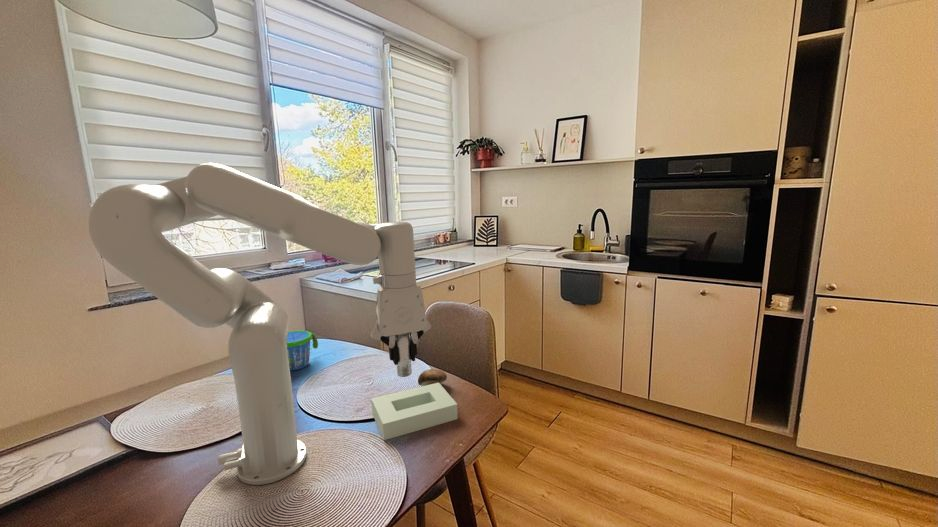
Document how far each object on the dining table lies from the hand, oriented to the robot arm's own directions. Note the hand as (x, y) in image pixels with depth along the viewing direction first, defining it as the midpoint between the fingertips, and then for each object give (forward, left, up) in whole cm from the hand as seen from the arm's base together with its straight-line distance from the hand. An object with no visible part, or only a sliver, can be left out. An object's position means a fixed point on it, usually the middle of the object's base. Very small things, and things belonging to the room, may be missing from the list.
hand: (403, 359), depth 85 cm
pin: (0, 0, -3) cm, 3 cm away
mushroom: (+12, +16, -18) cm, 27 cm away
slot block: (+3, +5, -18) cm, 19 cm away
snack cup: (-22, +49, -18) cm, 57 cm away
